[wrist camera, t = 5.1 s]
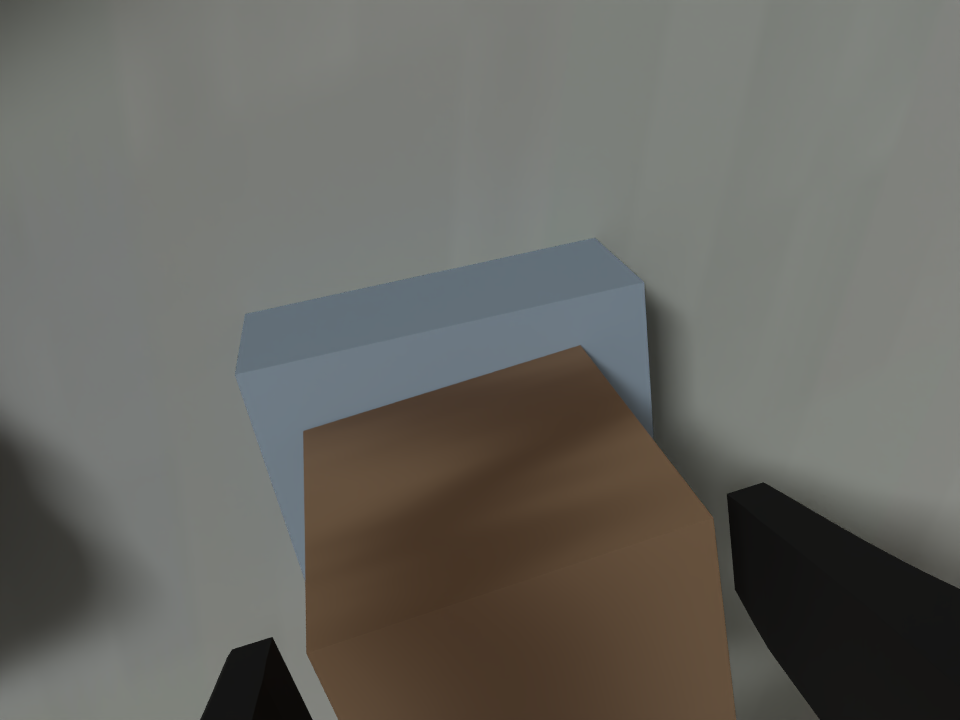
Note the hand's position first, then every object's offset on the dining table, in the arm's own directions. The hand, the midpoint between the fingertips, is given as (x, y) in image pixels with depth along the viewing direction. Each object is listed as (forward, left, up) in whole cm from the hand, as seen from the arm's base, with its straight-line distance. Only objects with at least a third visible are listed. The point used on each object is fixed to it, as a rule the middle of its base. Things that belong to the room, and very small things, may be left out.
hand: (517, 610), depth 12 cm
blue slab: (0, 0, -6) cm, 6 cm away
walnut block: (0, 0, -3) cm, 3 cm away
